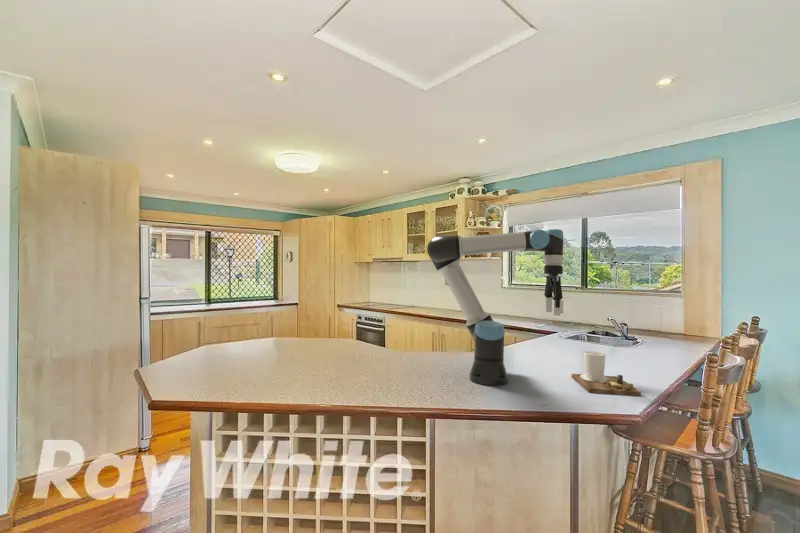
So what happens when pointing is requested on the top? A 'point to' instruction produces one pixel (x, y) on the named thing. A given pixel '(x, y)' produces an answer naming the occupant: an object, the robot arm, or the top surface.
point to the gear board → (606, 385)
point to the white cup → (594, 365)
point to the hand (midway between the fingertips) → (552, 313)
